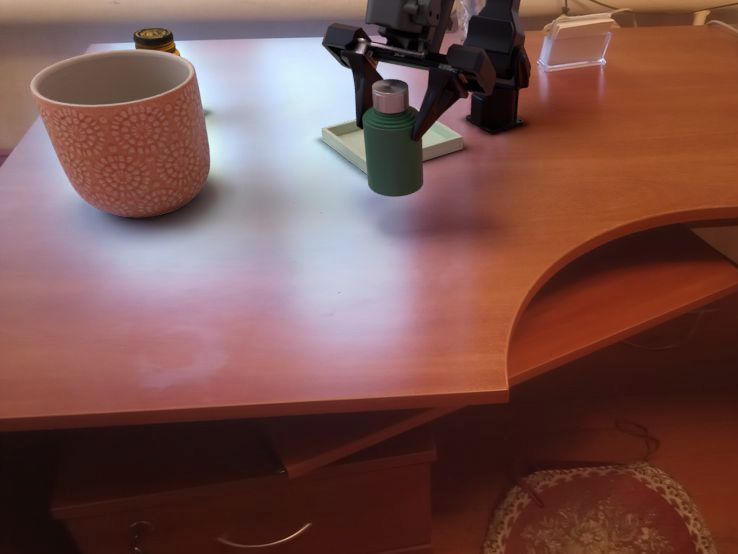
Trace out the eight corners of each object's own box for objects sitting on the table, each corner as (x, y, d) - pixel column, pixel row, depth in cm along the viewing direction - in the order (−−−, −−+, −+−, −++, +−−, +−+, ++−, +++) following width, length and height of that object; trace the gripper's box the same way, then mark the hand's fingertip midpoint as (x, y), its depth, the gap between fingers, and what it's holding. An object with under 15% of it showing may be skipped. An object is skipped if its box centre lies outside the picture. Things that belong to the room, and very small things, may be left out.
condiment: (206, 113, 109) (188, 30, 102) (164, 133, 104) (142, 47, 96) (170, 103, 112) (149, 21, 104) (127, 122, 106) (102, 37, 98)
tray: (411, 116, 110) (411, 104, 109) (462, 148, 103) (463, 136, 101) (322, 140, 103) (321, 128, 102) (370, 177, 96) (369, 164, 94)
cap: (398, 96, 80) (397, 76, 78) (415, 108, 77) (414, 88, 76) (367, 103, 78) (365, 83, 77) (384, 116, 76) (382, 96, 74)
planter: (64, 241, 82) (13, 111, 72) (87, 171, 95) (45, 52, 85) (220, 226, 85) (191, 100, 75) (222, 161, 98) (197, 45, 88)
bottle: (406, 164, 87) (402, 73, 80) (433, 187, 83) (431, 94, 76) (358, 177, 85) (349, 85, 77) (384, 202, 81) (377, 107, 73)
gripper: (319, -61, 73) (275, 86, 73) (490, -37, 68) (442, 121, 68) (364, -1, 84) (325, 128, 84) (514, 24, 79) (472, 161, 79)
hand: (386, 134), depth 79 cm, fingers closed on bottle, 6 cm apart
